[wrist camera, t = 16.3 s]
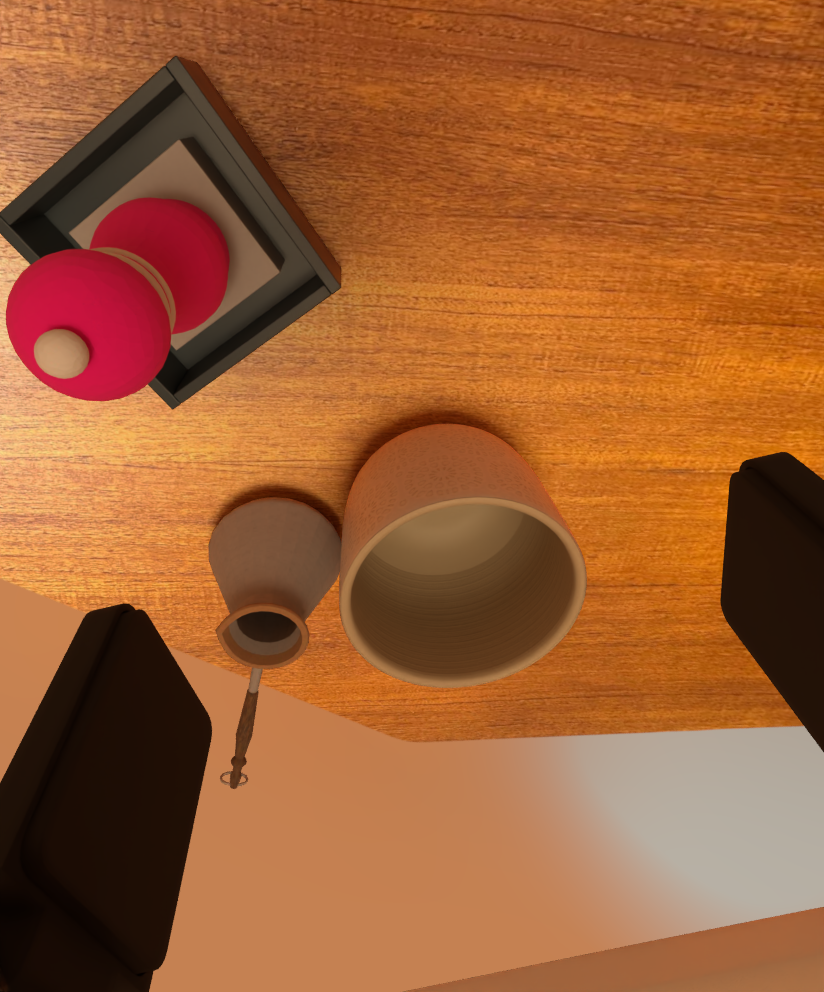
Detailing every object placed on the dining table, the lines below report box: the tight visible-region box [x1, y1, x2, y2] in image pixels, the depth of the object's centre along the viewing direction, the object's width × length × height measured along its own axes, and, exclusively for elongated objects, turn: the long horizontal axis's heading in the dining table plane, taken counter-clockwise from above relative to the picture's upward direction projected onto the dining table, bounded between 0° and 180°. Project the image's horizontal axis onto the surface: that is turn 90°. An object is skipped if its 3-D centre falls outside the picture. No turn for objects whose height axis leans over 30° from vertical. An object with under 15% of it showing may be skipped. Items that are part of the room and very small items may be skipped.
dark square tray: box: [0, 56, 341, 409], centre depth 41 cm, size 15×15×6 cm
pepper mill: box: [6, 198, 230, 401], centre depth 31 cm, size 7×7×20 cm
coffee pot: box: [209, 497, 341, 789], centre depth 52 cm, size 21×12×15 cm, turn 164°
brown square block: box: [69, 137, 285, 350], centre depth 41 cm, size 9×9×4 cm
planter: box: [339, 424, 587, 688], centre depth 49 cm, size 17×17×15 cm
